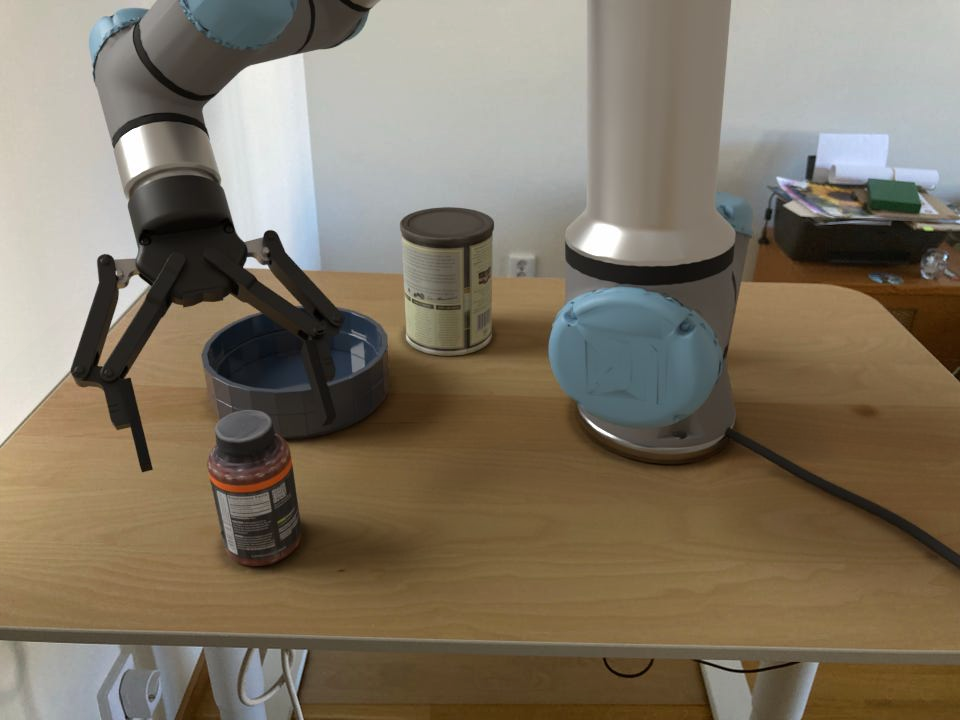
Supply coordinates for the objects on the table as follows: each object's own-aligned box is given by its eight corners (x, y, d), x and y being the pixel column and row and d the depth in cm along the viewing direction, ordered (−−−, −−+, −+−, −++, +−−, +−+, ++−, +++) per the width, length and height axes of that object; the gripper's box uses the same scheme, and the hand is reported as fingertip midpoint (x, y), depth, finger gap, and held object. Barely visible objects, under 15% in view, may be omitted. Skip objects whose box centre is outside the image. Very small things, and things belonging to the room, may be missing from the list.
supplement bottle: (241, 514, 64) (220, 398, 58) (312, 520, 63) (297, 403, 58) (212, 567, 59) (186, 444, 53) (289, 573, 58) (270, 450, 52)
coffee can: (412, 314, 96) (408, 204, 90) (494, 318, 96) (497, 208, 89) (397, 354, 88) (391, 236, 81) (488, 359, 87) (490, 240, 80)
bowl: (426, 383, 82) (424, 337, 79) (292, 466, 69) (285, 414, 67) (309, 333, 92) (304, 291, 89) (173, 398, 79) (163, 351, 76)
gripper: (318, 197, 71) (385, 415, 67) (10, 238, 61) (67, 497, 57) (332, 153, 64) (407, 392, 60) (-12, 191, 54) (50, 481, 50)
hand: (242, 444), depth 59 cm, fingers open, 13 cm apart
